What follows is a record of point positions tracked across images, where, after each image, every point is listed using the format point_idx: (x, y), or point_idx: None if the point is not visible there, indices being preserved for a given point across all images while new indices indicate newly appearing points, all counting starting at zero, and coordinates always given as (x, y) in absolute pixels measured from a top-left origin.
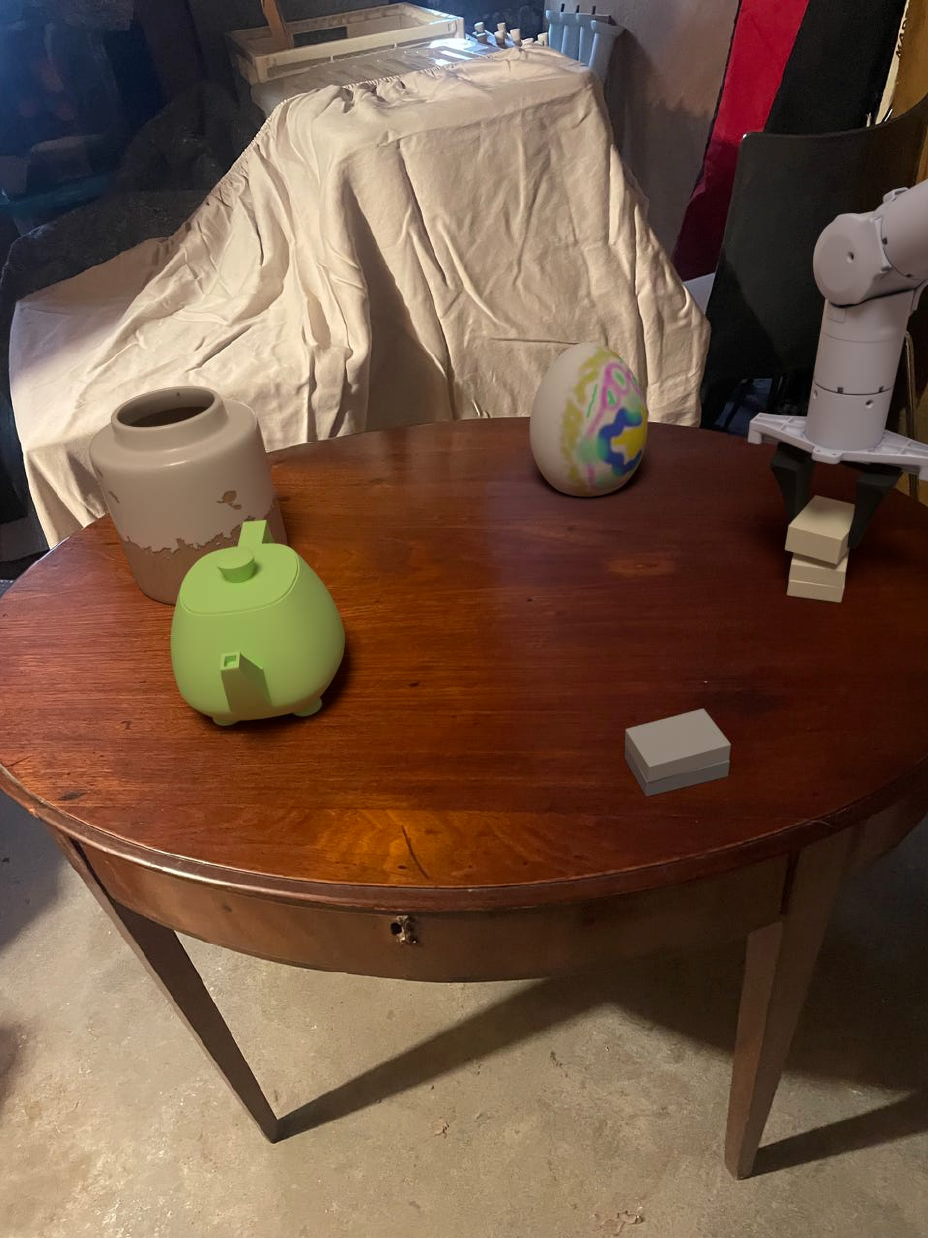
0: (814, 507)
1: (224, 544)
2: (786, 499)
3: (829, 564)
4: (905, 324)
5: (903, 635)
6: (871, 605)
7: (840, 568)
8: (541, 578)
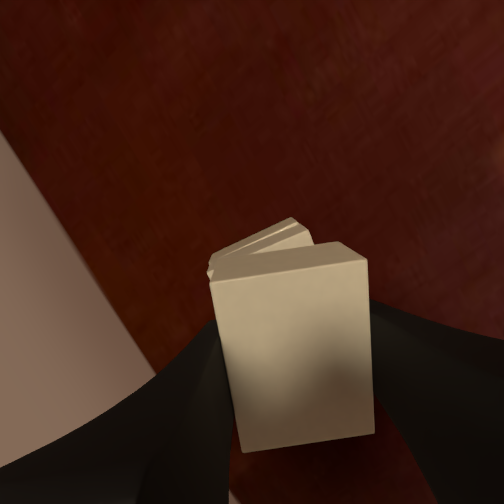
0: (350, 382)
1: None
2: (438, 327)
3: None
4: None
5: (92, 237)
6: (173, 279)
7: None
8: None
